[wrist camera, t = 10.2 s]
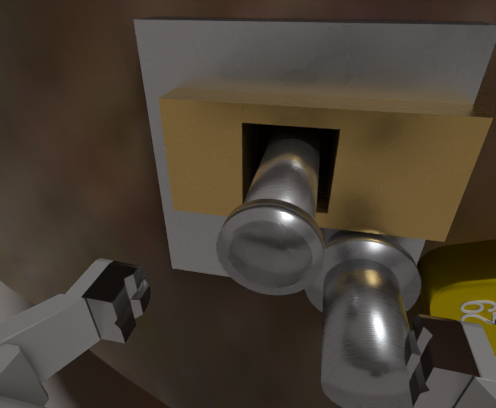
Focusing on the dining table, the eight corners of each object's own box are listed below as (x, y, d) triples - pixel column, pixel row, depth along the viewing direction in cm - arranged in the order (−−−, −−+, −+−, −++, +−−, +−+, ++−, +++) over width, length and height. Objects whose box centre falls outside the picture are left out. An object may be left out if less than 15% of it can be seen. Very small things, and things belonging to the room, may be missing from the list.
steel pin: (331, 110, 21) (330, 218, 11) (323, 168, 23) (317, 302, 13) (267, 106, 22) (213, 204, 12) (265, 163, 24) (218, 286, 14)
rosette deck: (481, 21, 17) (693, 59, 7) (397, 279, 27) (438, 449, 17) (152, 17, 20) (-20, 38, 10) (182, 249, 30) (108, 378, 20)
